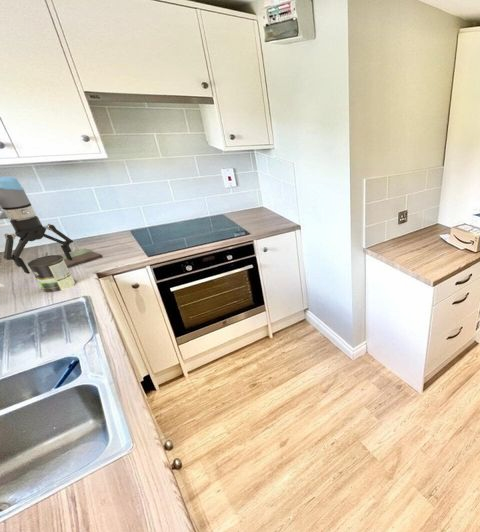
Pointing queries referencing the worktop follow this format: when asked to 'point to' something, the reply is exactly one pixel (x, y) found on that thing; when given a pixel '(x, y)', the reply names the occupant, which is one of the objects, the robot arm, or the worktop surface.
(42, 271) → the coffee can
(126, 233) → the worktop surface
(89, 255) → the serving board
